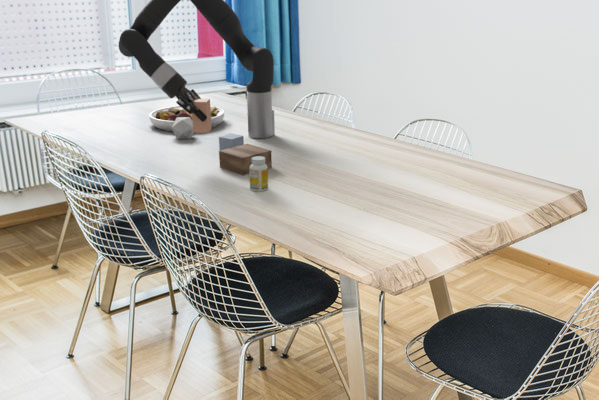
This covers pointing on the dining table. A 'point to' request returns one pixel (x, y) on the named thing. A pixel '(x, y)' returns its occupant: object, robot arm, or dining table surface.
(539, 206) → the dining table surface
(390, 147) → the dining table surface
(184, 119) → the die
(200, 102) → the pillar block
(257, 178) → the supplement bottle
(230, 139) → the slate cube
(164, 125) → the bowl
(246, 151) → the walnut block
